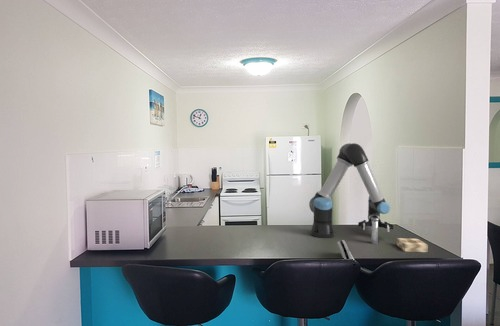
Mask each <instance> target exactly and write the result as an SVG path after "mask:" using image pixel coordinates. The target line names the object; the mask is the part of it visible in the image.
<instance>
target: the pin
mask: <svg viewBox="0 0 500 326" xmlns="http://www.w3.org/2000/svg"><path fill="white" fill-rule="evenodd" d="M371 220H372V227H371V240H370V241H371V242H370V243H371V244H373V245H378V242H379V241H378V240H379V227H378V221H379V218H375V217H372V218H371Z"/></svg>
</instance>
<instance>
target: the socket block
mask: <svg viewBox="0 0 500 326" xmlns="http://www.w3.org/2000/svg"><path fill="white" fill-rule="evenodd" d="M396 246H398V248H400V249H401V250H402V251H404V252H413V253H416V252H417V253H428V251H429V245H428V244H427V242H424V241H422V240H421V239H419V238H408V237H407V238H406V237H405V238H401V237H399V238H398V237H397V238H396Z"/></svg>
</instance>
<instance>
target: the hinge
mask: <svg viewBox="0 0 500 326" xmlns="http://www.w3.org/2000/svg"><path fill="white" fill-rule="evenodd" d="M336 243H337V245H338V250H339V252H340V255H341V256H342V259H343V258H344V259H353V260H355V258H354V257H353V255H352V253H351V251H350V249H349V247H348V245H347V243H346V241H345V240H344V239H343V240H341V241H340V240H339V241H337V242H336ZM344 259H343V260H344Z"/></svg>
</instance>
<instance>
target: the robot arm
mask: <svg viewBox="0 0 500 326" xmlns="http://www.w3.org/2000/svg"><path fill="white" fill-rule="evenodd" d="M336 160H337V161H336V163H335V164H334V166H333V168H332V170H331V171H330V173H329V175H328V176H327V177H326V180H325V182H324V184H323V185H322V187H321V188H320V190H319V191H316V192H315V194H314V196H312V198H311V199H310V200H309V204H308V205H309V210H310V211H311V212H312V213H313V223H312V226H311V229H310V236H313V237H316V238H320V239H321V238H323V239H325V238H326V239H327V238H334V237H335V230H334V225H333V200H332V199H333V198H332V197H333V196H334V194H335V191H336V190H337V188H338V186H339V185H340V183H341V182H342V180H343V178H344V176H345V174H346V173H347V171H348V169H349V168H350V167H355V168H356V170H357V172H358V174H359V176H360V178H361V180H362V182H363V185H364V187H365V189H366V191H367V193H368V195H369V196H368V202H367V203H368V207H367V208H368V209H367V211H368V213H367V219H368V221H367V220H366V219H363V220H362V221H359V222H357V224H358V225H357V226H358V227H359V228H360V227H361V229H362V230H363V231H365V230H366V229H365V228H366V227H371V228H372V220H371V218H372V217H375V218H379V221H378V228H384V229H386V231H387V232H388V233H390V231H391V230H394V225H393V224H391V223H390V222H389V223H388V222H387V221H384V222H382V220H381V214H382V215H386V214H388V213H389V212H390V210H391V206H390V203H388V202H387V201H386V200H385V198H384V195H383V194H382V191H381V189H380V186H379V184H378V182H377V179H376V178H375V176H374V173H373V172H372V169H371V167H370V164H369V163H368V162H369V159H368V156H367V155H366V152H365V150H364V148H363V147H362V146H361V144H359V143H356V142H355V143H345V144H343V145H342V146H341V147H340V149H339V152H338V155H337V157H336Z"/></svg>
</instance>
